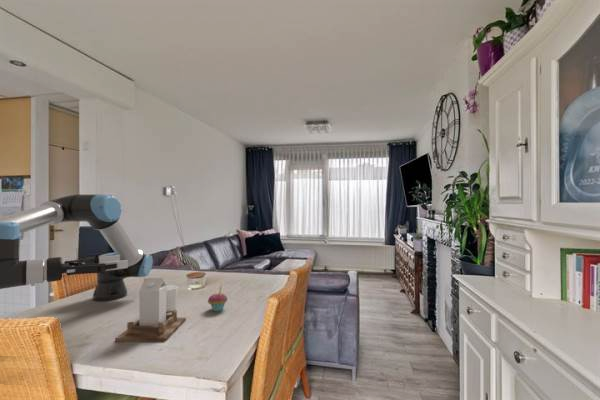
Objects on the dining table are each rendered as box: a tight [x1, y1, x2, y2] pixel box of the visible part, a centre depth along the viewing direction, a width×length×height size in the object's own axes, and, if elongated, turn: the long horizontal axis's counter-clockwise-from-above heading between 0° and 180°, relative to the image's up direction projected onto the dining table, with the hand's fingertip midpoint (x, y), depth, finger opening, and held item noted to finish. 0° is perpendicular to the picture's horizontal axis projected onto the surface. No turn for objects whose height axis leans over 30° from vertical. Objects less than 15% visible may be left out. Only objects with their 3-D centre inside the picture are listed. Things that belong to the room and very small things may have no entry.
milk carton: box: [138, 277, 167, 326], centre depth 109 cm, size 7×7×19 cm
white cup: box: [166, 284, 179, 313], centre depth 131 cm, size 8×8×10 cm
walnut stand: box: [114, 309, 187, 343], centre depth 109 cm, size 18×18×5 cm
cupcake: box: [207, 284, 228, 312], centre depth 131 cm, size 9×8×12 cm
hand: (123, 261), depth 104 cm, fingers open, 13 cm apart
